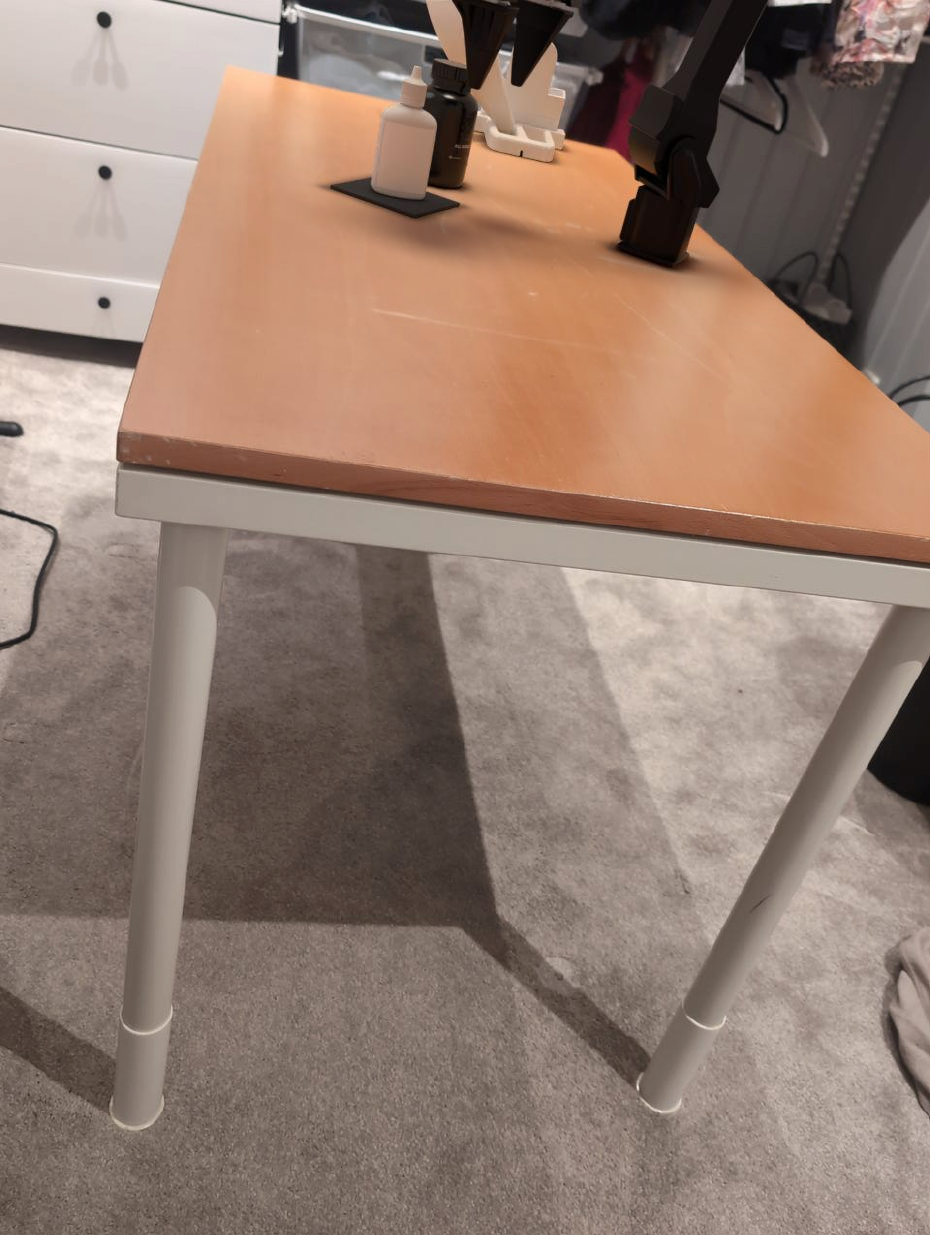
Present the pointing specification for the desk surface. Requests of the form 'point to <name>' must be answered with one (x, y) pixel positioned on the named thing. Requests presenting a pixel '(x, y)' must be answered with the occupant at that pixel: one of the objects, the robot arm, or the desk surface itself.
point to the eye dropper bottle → (405, 144)
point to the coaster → (395, 199)
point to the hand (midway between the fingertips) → (495, 87)
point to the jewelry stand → (508, 95)
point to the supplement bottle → (450, 122)
